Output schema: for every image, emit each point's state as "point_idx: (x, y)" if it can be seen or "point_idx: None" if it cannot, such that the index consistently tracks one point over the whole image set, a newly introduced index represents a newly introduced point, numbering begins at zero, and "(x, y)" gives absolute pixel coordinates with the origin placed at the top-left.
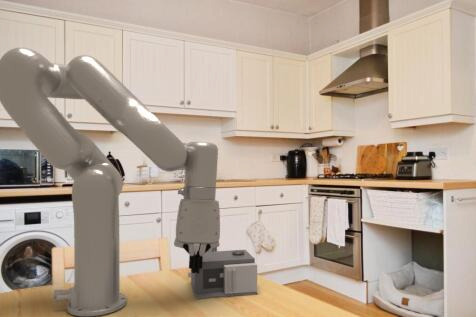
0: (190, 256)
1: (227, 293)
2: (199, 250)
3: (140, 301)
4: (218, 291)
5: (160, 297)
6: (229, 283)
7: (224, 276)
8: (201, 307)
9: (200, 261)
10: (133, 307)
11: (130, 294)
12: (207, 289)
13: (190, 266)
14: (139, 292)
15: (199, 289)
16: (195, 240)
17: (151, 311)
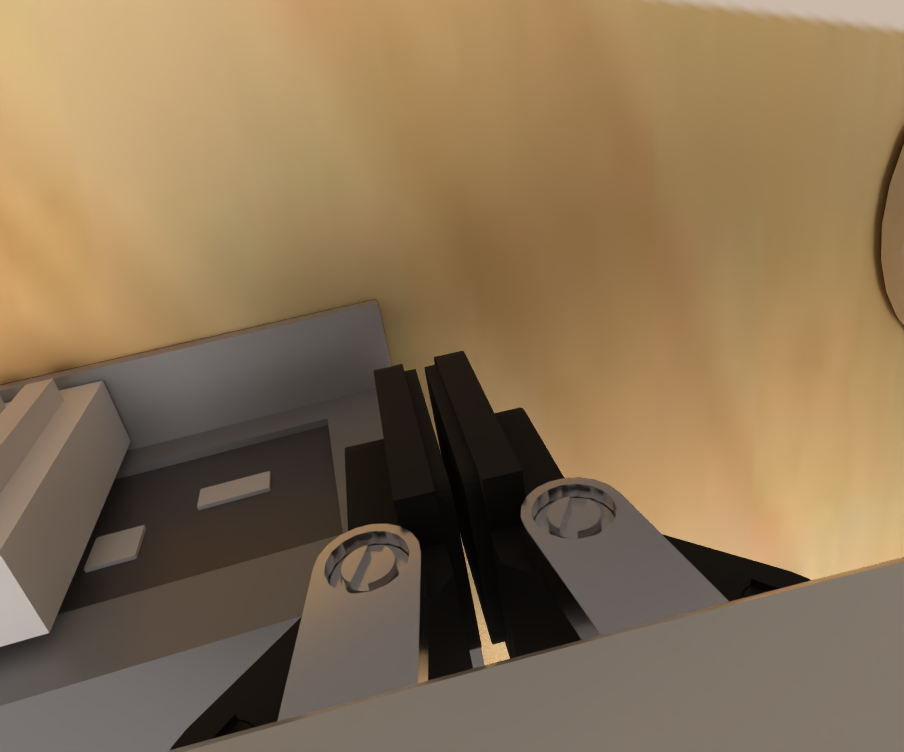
0: (571, 500)
1: (77, 389)
2: (433, 670)
3: (786, 258)
4: (183, 438)
5: (652, 338)
6: (8, 420)
7: (66, 497)
8: (299, 94)
9: (378, 491)
10: (838, 135)
11: (837, 389)
12: (286, 424)
13: (512, 417)
14: (783, 426)
15: (360, 409)
16: (680, 692)
17: (720, 31)
